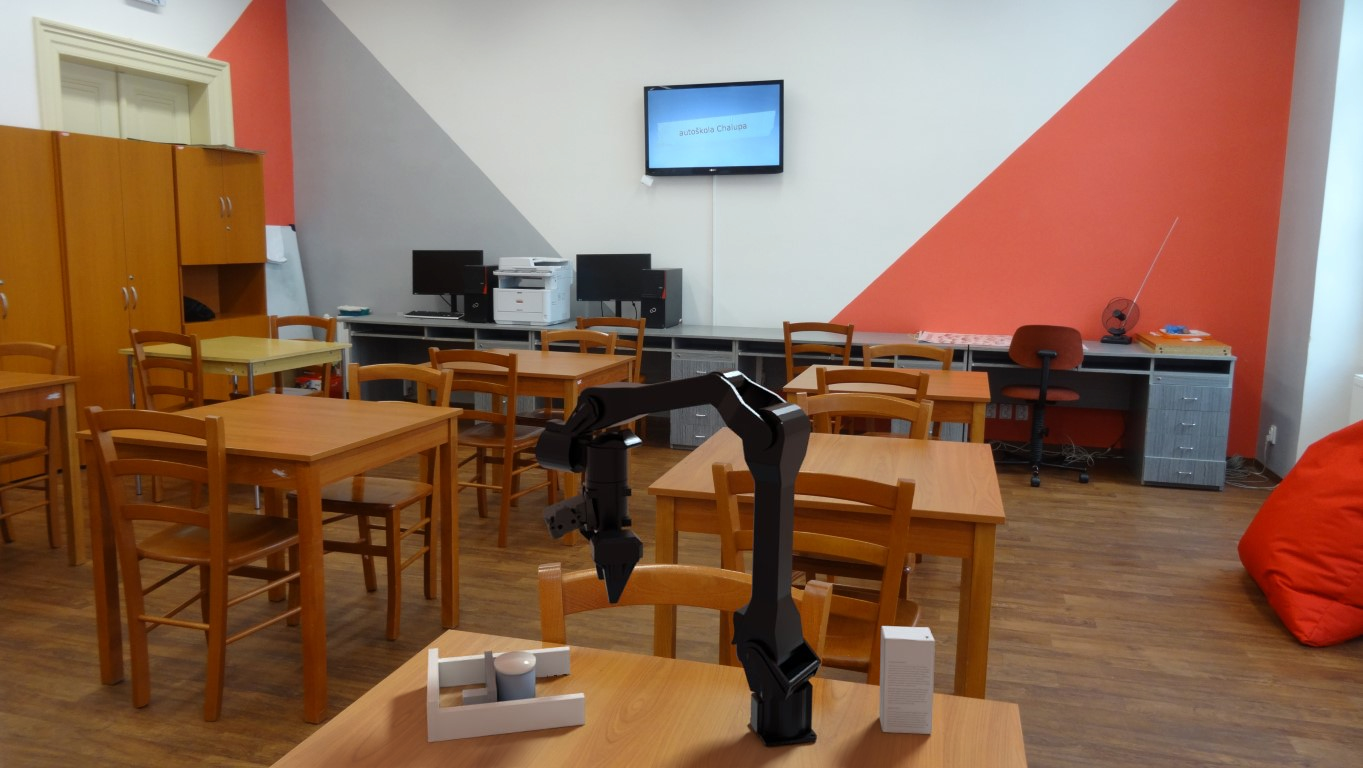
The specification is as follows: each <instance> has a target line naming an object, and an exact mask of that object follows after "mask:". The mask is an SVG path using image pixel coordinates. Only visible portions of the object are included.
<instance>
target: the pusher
mask: <svg viewBox="0 0 1363 768" xmlns="http://www.w3.org/2000/svg"><path fill="white" fill-rule="evenodd" d="M483 653H484V658H485V683H484V685H485V686H484V687H481V688H480V687H479V688H471V689H463V690H462V692H461V693H462V706H466V705H475V704H484V703H494V702H497V689H496V680H495V672H494V663H493V655H492V654H493V650H486V651H484V652H483Z"/></svg>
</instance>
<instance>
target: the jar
mask: <svg viewBox="0 0 1363 768" xmlns="http://www.w3.org/2000/svg"><path fill="white" fill-rule="evenodd" d="M523 651H524V650H517V651H516V650H515V651H514V650H513V651H507V653H504V652H503V653H504V654H501V655H499V656H498V657H496V658H495V660H494V668H495V677H496V689H497V702H503V701H512V700H522V699H531V698H537V697H536V694H537V693H536V678H535V666H536V658H535V656H534V655H533V654H531V653H528V652H523Z"/></svg>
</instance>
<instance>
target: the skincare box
mask: <svg viewBox="0 0 1363 768" xmlns="http://www.w3.org/2000/svg"><path fill="white" fill-rule="evenodd" d="M935 649H936V639H935V638H934V636H933V634H932V632H931V629H930V627H927V626H926V627H921V626H920V627H919V626H918V627H915V626H891V625H881V626H880V657H879V658H880V660H879V661H880V663H879V665H880V667H879V669H880V670H879V702H878V703H879V704H878V705H879V706H878V707H879V708H878V716H879V717H878V718H879V721H880V726H881V731H882V732H883V733H897V734H898V733H899V734H917V735H918V734H920V735H921V734H922V735H931V734H932V732H933V709H934V708H933V706H934V684H935V683H934V682H935V680H934V679H935Z"/></svg>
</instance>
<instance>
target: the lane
mask: <svg viewBox="0 0 1363 768" xmlns="http://www.w3.org/2000/svg"><path fill="white" fill-rule="evenodd" d="M522 651H523V652H528V653H531V654H533V655H534V656H535V658H536V666H535V679H536V678H538V679H539V678H546V677H547V676H548V677H555V676H554V675H557V676H563V675H562V674H567V675H571V649H570V646H569V645H567V646H559V647H547V648H537V649H530V650H529V649H528V650H527V649H526V650H522ZM507 652H508V651H507ZM507 652H505V651H504V652H496V653H495V652H494V653H492V655H493V663H494V660H495V658H496V657H498V656H499V655H501V654H504V653H507ZM427 660H428V661H427V685H426V686H427V689H426V717H427V722H426V723H427V742H428V743H432V742H433V743H434V742H442V741H451V740H458V739H467V738H477V737H487V736H495V735H496V736H497V735H502V734H511V733H521V732H530V731H535V730H536V731H537V730H547V729H555V728H563V727H571V726H572V727H573V726H581V725H586V697H585V693H584V692H579V693H570V694H561V695H552V696H551V695H550V696H542V697H536V698H531V699H522V700H512V701H503V702H494V703H484V704H475V705H466V706H463V705H458V706H457V705H456V706H449V707H440V688H447V687H449V688H450V687H457V686H466V685H467V686H468V685H479V684H485V658H484V654H475V655H474V654H472V655H464V656H454V657H453V656H452V657H444V658H443V657H441V658H439V648H438V647H435V648H428V659H427ZM494 672H495V668H494ZM495 680H496V677H495Z"/></svg>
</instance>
